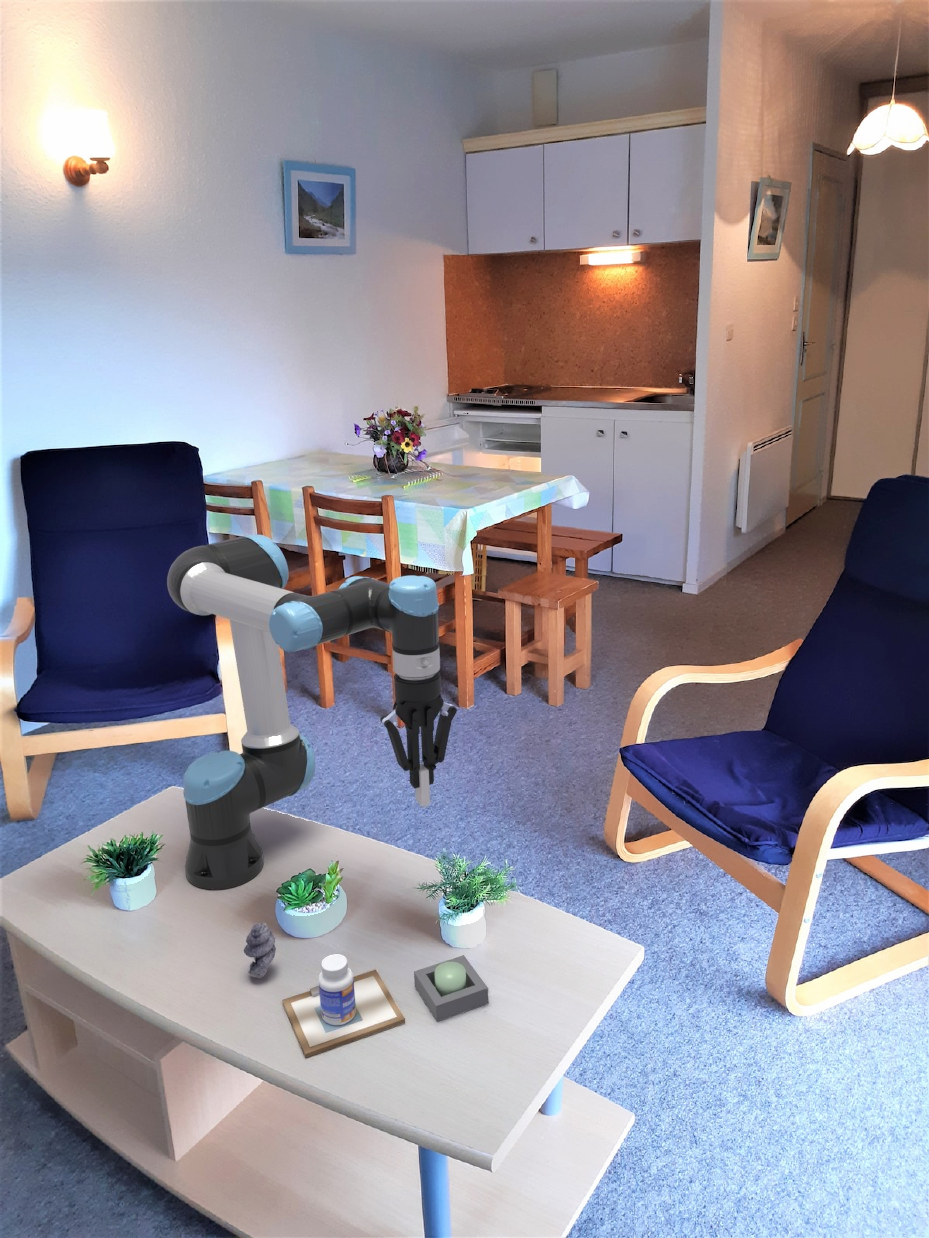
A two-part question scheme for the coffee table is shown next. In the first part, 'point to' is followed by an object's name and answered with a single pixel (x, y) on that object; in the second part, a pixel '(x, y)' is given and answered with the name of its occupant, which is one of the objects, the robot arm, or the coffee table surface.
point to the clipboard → (369, 1019)
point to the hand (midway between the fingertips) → (422, 802)
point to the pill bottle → (336, 990)
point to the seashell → (260, 949)
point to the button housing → (455, 1001)
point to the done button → (450, 978)
